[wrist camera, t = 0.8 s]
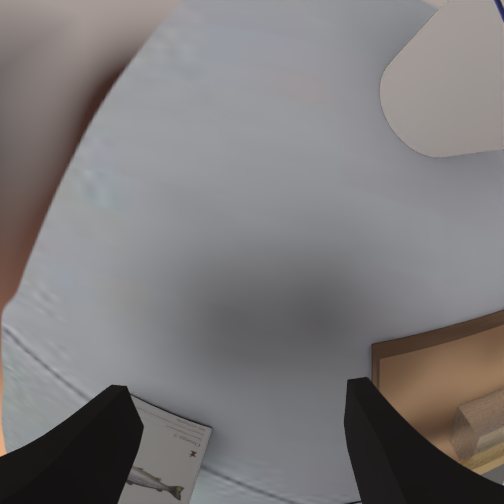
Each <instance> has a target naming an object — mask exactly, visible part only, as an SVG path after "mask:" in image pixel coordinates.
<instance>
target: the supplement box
mask: <svg viewBox="0 0 504 504" xmlns="http://www.w3.org/2000/svg"><path fill="white" fill-rule="evenodd" d="M131 398H132V400H133V402H134V405H135V407H136V409H137V412H138V414H139V416H140V418H141V420H142V423H143V425H144V430H143V434H142V439H141V443H140V447H139V450H138V453H137V456H136V458H135V461H134V463H133V466H132V468H131V471H130V473H129V476H128V478H127V481H126V483H125V486H124V488H123V491H122V493H121V496H120V499H119V502H118V504H189V502H190V499H191V495H192V492H193V489H194V486H195V483H196V479H197V476H198V473H199V470H200V467H201V463H202V460H203V457H204V454H205V451H206V448H207V445H208V442H209V438H210V435H211V432H212V429H211V428H209V427H206V426H202V425H199V424H196V423H193V422H191V421H188V420H185V419H183V418H180V417H177V416H175V415H173V414H170V413H168V412H166V411H163V410H161V409H159V408H157V407H154V406H152V405H150V404H148V403H146V402H144V401H141V400H139V399H137V398H135V397H134V396H132V395H131Z"/></svg>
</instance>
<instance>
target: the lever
mask: <svg viewBox="0 0 504 504" xmlns="http://www.w3.org/2000/svg"><path fill="white" fill-rule="evenodd" d="M458 463H460V464H461V465H463V466H465V467H466V468H468V469H470V470H472V471H474V472H476V473H477V474H479V475H481V474H483V473H486V472H488V471H490V470H492V469H494V468H496V467H498V466H500V465H502V464H504V442H503V443H501V444H499V445H497V446H495V447H492V448H490V449H488V450H486V451H484V452H481V453H479V454H477V455H474V456H472V457H469V458H467V459H465V460H462V461H459V462H458Z"/></svg>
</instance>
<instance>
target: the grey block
mask: <svg viewBox="0 0 504 504" xmlns="http://www.w3.org/2000/svg"><path fill="white" fill-rule="evenodd" d="M449 442H450V444H451V445H452V447H453V449H454V451H455V453H456V455H457V457H458V458H459V460H460V461H462V460H465V459H467V458H469V457H472V456H474V455H477V454H479V453H481V452H484V451H486V450H488V449H490V448H492V447H495V446H497V445H499V444H501V443H503V442H504V387H503V388H501V389H499V390H496V391H494V392H492V393H489V394H487V395H484V396H482V397H479V398H476V399H474V400H471V401H468V402H466V403H463V404H460V405H457V410H456V414H455V419H454V423H453V427H452V431H451V435H450V439H449Z"/></svg>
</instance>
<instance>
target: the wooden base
mask: <svg viewBox="0 0 504 504" xmlns="http://www.w3.org/2000/svg"><path fill="white" fill-rule="evenodd" d="M372 383H373V384H374V385H375V387H376V388H377V389H378V390H379V391H380V393H381V394H382V395H383V396H384V397H385V398H386V399H387V401H388V402H389V403H390V404H391V405H392V406H393V407H394V408H395V409H396V410H397V411H398V413H399V414H400V415H401V416H402V417H403V418H404V419H405V420H406V421H407V422H408V423H409V424H410V425H411V426H412V427H414V428H415V429H416V430H417V431H418V432H419V433H420V434H421V435H422V436H423V437H425V438H426V439H427V440H428V441H429V442H431V443H432V444H433V445H434V446H435V447H437V448H438V449H439V450H441V451H442V452H443V453H445V454H446V455H448V456H449V457H451V458H452V459H454V460H455V461H457V462H459V461H460V460H459V458H458V457H457V455H456V453H455V451H454V449H453V447H452V445H451V444H450V442H449V439H450V435H451V431H452V427H453V423H454V419H455V414H456V410H457V405H460V404H463V403H466V402H468V401H471V400H474V399H476V398H479V397H482V396H484V395H487V394H489V393H492V392H494V391H496V390H499V389H501V388H503V387H504V310H502V311H499V312H496V313H493V314H490V315H487V316H484V317H480V318H477V319H474V320H470V321H467V322H463V323H460V324H456V325H453V326H449V327H445V328H441V329H438V330H434V331H430V332H426V333H422V334H417V335H413V336H409V337H405V338H400V339H396V340H391V341H386V342H382V343H377V344H372Z"/></svg>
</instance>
